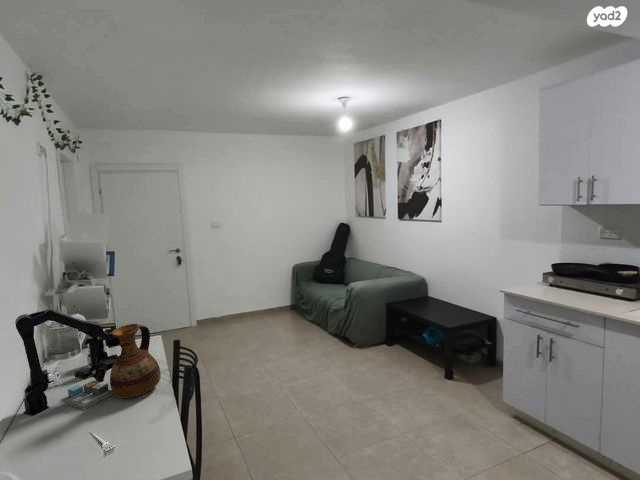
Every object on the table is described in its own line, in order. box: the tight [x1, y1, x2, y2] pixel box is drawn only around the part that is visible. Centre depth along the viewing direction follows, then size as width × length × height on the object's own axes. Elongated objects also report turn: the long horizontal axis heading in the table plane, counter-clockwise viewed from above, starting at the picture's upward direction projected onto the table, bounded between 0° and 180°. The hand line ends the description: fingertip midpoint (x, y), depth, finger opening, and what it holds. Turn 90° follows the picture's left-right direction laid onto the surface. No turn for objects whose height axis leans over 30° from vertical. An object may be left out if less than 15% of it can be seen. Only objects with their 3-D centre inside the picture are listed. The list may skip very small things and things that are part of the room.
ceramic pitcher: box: [109, 323, 162, 399], centre depth 167 cm, size 20×20×30 cm
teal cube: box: [67, 384, 84, 398], centre depth 167 cm, size 4×4×4 cm
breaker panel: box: [64, 389, 114, 410], centre depth 163 cm, size 13×12×2 cm
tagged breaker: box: [82, 380, 99, 394], centre depth 166 cm, size 4×4×3 cm
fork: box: [92, 433, 116, 452], centre depth 133 cm, size 3×20×2 cm, turn 51°
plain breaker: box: [92, 381, 110, 396], centre depth 164 cm, size 4×4×3 cm
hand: (100, 384), depth 171 cm, fingers closed
